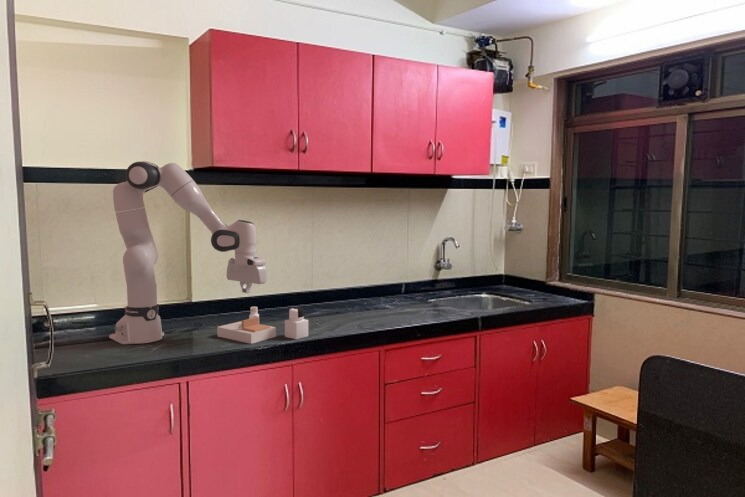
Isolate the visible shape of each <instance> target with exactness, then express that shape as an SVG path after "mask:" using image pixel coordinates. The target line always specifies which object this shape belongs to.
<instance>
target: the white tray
mask: <svg viewBox="0 0 745 497" xmlns="http://www.w3.org/2000/svg"><path fill="white" fill-rule="evenodd" d="M242 321H243V320H241V321H237V322H231V323H227V324H224V325H220V326H217V328H216V331H217V332H216V333H217V337H218V338H223V339H227V340H231V341H237V342H241V343H246V344H256V343H259V342H263V341H265V340H268V339H273V338H276V337H277V327H275V326H272V325H269V326H270V328H268V329H264V330H261V331H257V332H252V331H248V330H243V329H242ZM261 325H263V324H261Z"/></svg>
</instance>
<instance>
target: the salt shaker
mask: <svg viewBox="0 0 745 497" xmlns="http://www.w3.org/2000/svg"><path fill="white" fill-rule="evenodd" d="M249 308H250V314H249V315H248V319H251V318H255V317H259V318H260V314H259V313H258V306H251V307H249Z"/></svg>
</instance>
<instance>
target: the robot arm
mask: <svg viewBox="0 0 745 497" xmlns="http://www.w3.org/2000/svg"><path fill="white" fill-rule="evenodd" d="M125 180H126V181H123V182H119V183H118V184H116V185H115V186H114V187H113V190H112V201H113V208H114V212H115V217H116V222H117V225H118V230H119V233H120V235H121V237H122V239H123V242H124V245H125V248H126V250H125V251H124V253H123V257H122V264H123V271H124V277H125V283H126V295H127V296H126V298H127V305H126V306H125V307H124V309H123V310H125V312H124V315H123V316H122V317H121V318H120V319H119V320H118V321H117V322H116V323H115V327H114V329H115V330H114V331H115V333H112V334H109V336H108V337H109V339H111V340H113V341H115V342H117V343H118V344H120V345H131V344H133V345H134V344H139V345H140V344H147V343H153V342H157V341H160V340H162V339H163V337H164V336H165V332H164V331H163V329H162V320H161V316H160V315H159V309H160V308H159V304H158V292H157V289H158V288H157V283H156V282H157V281H156V274H155V264H156V263H157V261H158V258H159V253H158V251H157V247H156V243H155V240H154V237H153V234H152V231H151V227H150V225H149V220H148V216H147V211H146V206H145V202H144V194H145V193H147V192H149V191H151V190H154V189H155V188H157V187H160V188H162V189H163V190H164V191H165V192H166V193H167V194H168V195H169V197H171V199H172V200H173V201H174V202H175V203H176V204H177V205H178V206H179V207H180V208H181V209H182V210H185V211H187V212H189V213H191V214H192V215H195V216H196V217H197V218H199V220H200V221H201V222H202V223H203V224H204V226H206V228H207V229H208V230H209V231H210V232H211V234H212V235H211V236H210V237H211V238H210V242H211V246H212V247H213V249H214V250H216V251H218V252H220V253H221V252H222V253H225V252H229V251H234V257H231V258H230V259H229V260H228V262H227V263H228V264H227V266H226V279H227V280H229V281H234V282H239V285H240V289H241V293H245V294H249V293H251V289H252V286H253V284H255V285H256V284H257V285H263V284H266V282H267V267H266V266H265V265H267V261H266V259H265V258H262V257H261V256H259V254H258V253H257V252H258V251H257V243H258V240H257V239H258V237H257V236H258V233H257V227H256V225H255V223H253V222H252V221H250V220H249V221H248V220H243V219H237V220H236V221H235V222H233V223H231V224H229V225H227V224H225V223H224V222H223V221H222V220H221V218H220V217H219V216H218V215H217V214H216V213H215V211H214V210H213V209H212V207H210V205H209V203H208V201H207V200H206V198H205V196H204V194H203V192H202V190H201V188H200V187H199V186H198V183H196V181H195V180H194V179H193V178H192V177H191V175H189V173H188V172H186V170H185V169H183V167H181V166H180V165H179V164H177V163H176V162H171V163H166V164H164V165H163V166H161V167H159V166H158V165H157V164H155V163H153V162H150V161H145V160H143V161H135V162H133V163H131V164H130V165H129V166H128V167H127V168H126V171H125Z"/></svg>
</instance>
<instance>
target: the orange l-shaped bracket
mask: <svg viewBox="0 0 745 497" xmlns="http://www.w3.org/2000/svg"><path fill="white" fill-rule="evenodd" d="M241 321H242V329H243V330H248V331H252V332H257V331H261V330H264V329H268V328H270V326H271V325H267V324H262V325H261V324H260V316H259V317H255V318H251V319H249V318H247V319H243V320H241Z"/></svg>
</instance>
